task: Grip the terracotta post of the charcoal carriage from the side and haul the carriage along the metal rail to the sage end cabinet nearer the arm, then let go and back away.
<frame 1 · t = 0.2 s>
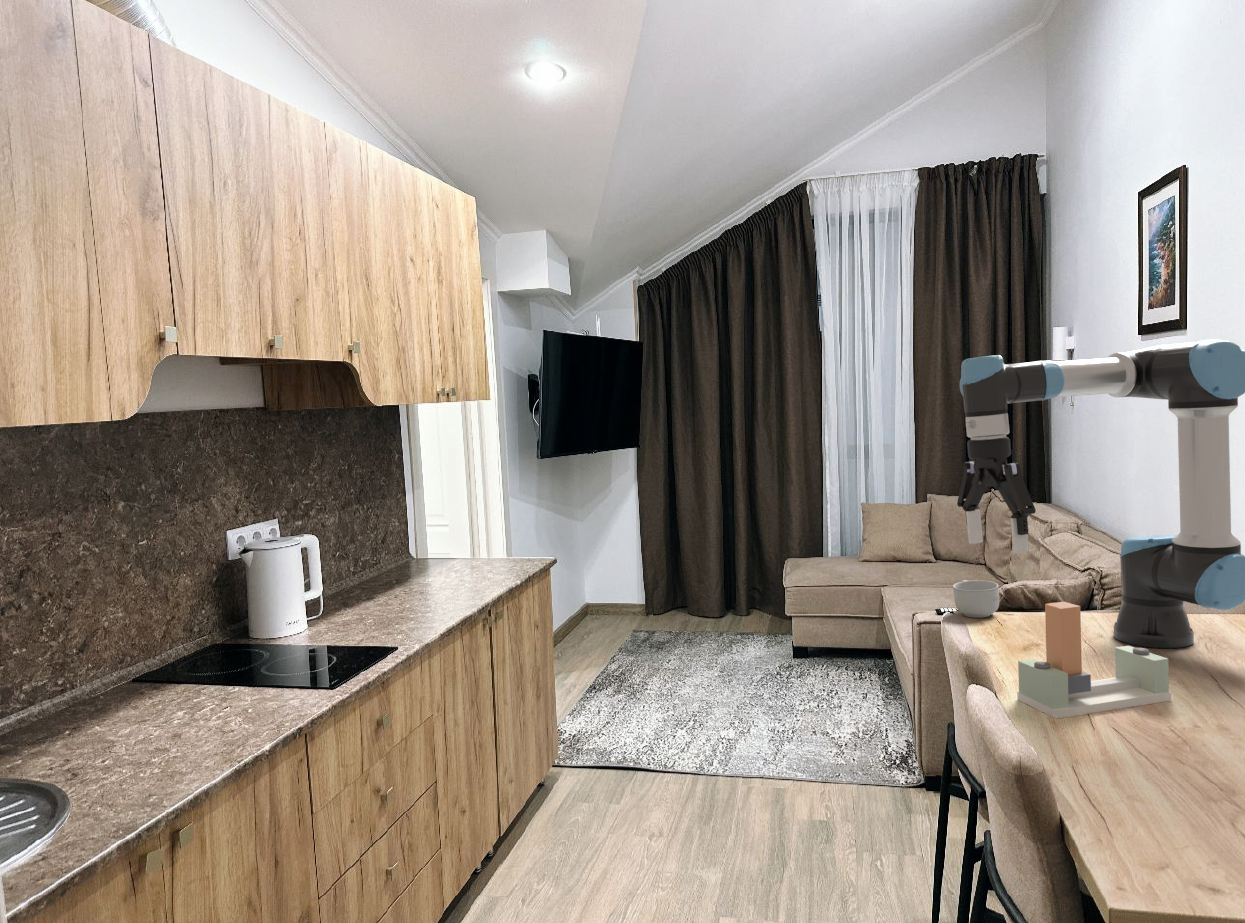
hand: (997, 547, 163), 27 cm above the table, tool pointing down, fingers open, 13 cm apart
teacup: (975, 614, 219), on the table
end cabinets: (1092, 674, 155), point 5 cm above the table
carriage: (1063, 646, 153), point 11 cm above the table, slide at 6.0 cm
rail bed: (1093, 700, 155), on the table
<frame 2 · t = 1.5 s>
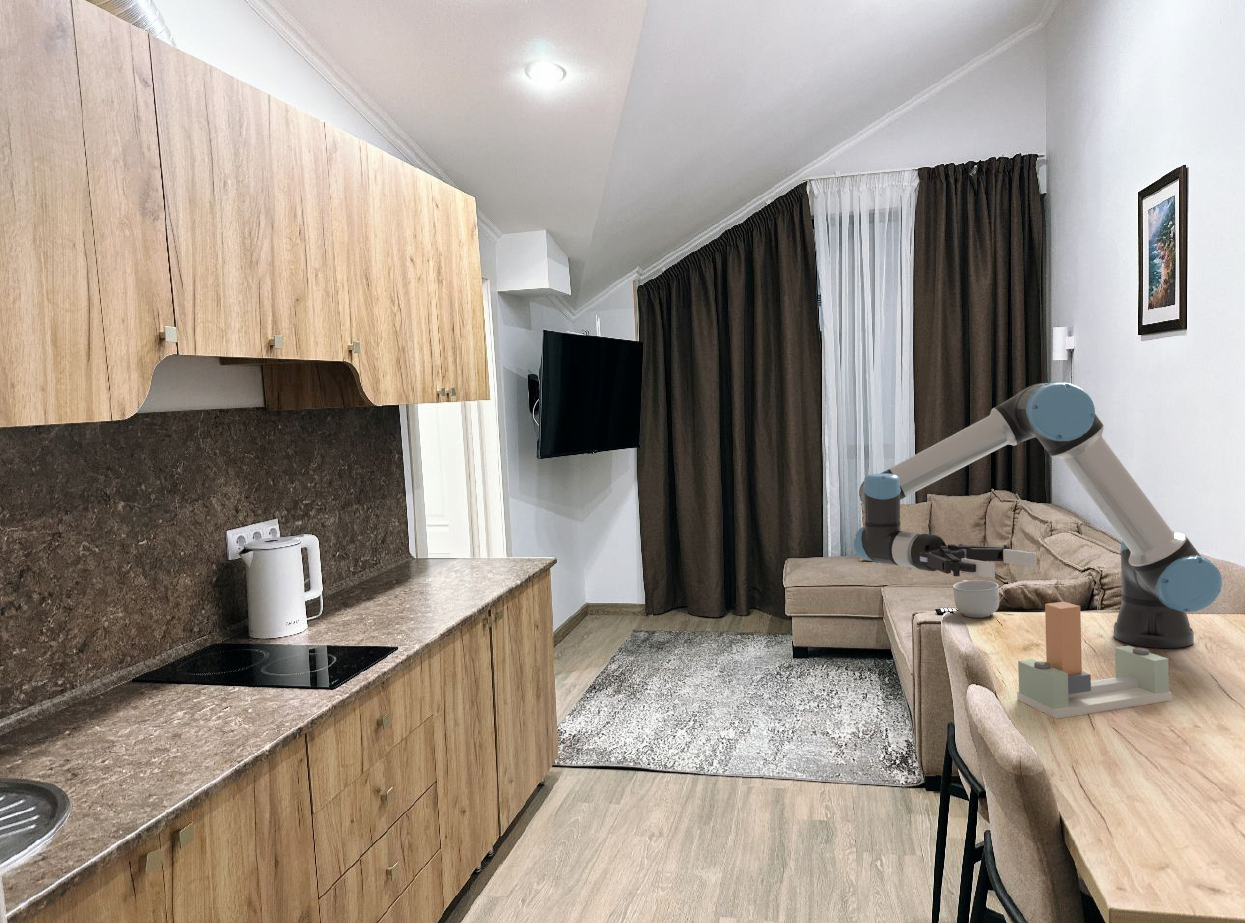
hand: (1015, 565, 160), 24 cm above the table, tool horizontal, fingers open, 13 cm apart
nothing on the table moved.
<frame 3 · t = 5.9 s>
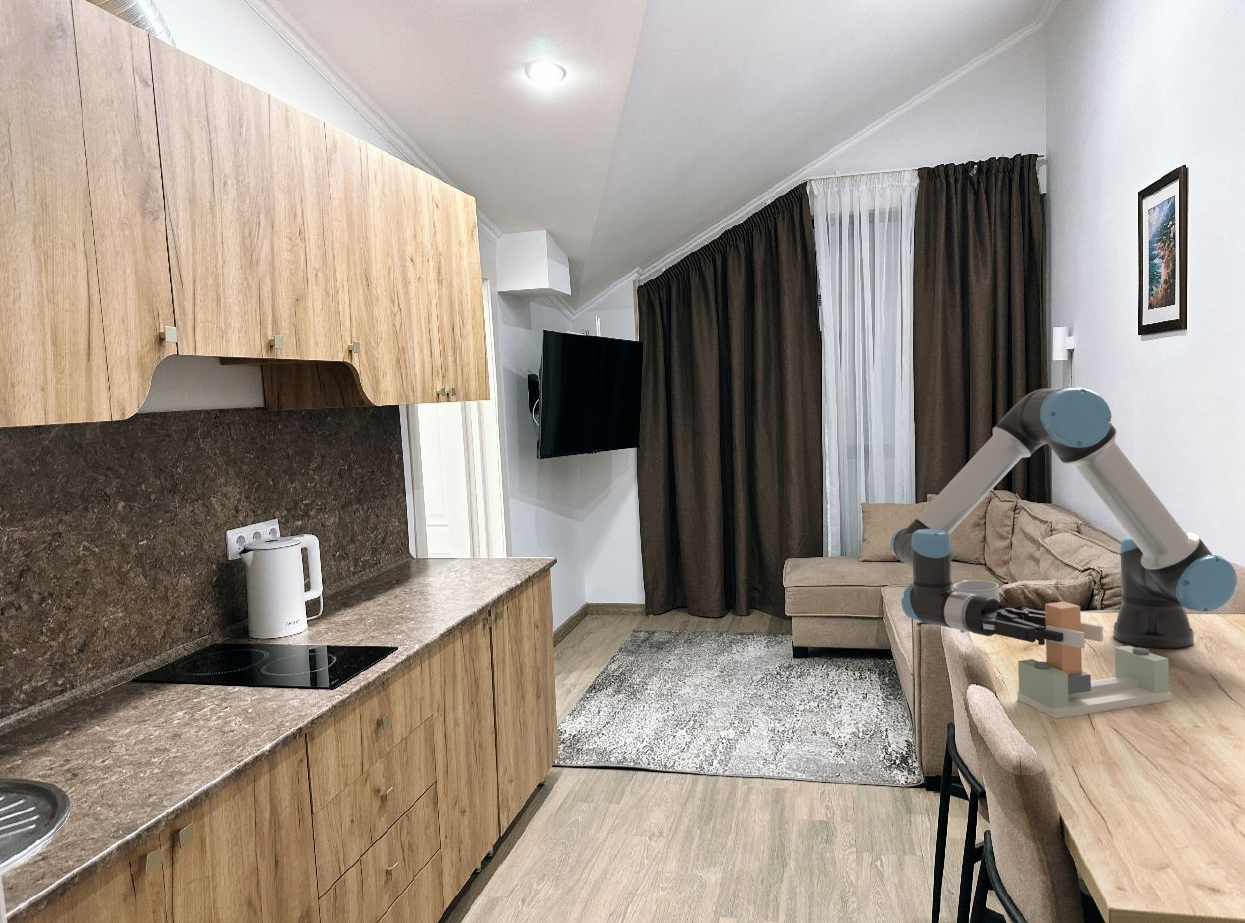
hand: (1092, 637, 149), 13 cm above the table, tool horizontal, fingers closed on carriage, 5 cm apart
carriage: (1063, 646, 153), point 11 cm above the table, slide at 6.0 cm, touching gripper
everything else where it was.
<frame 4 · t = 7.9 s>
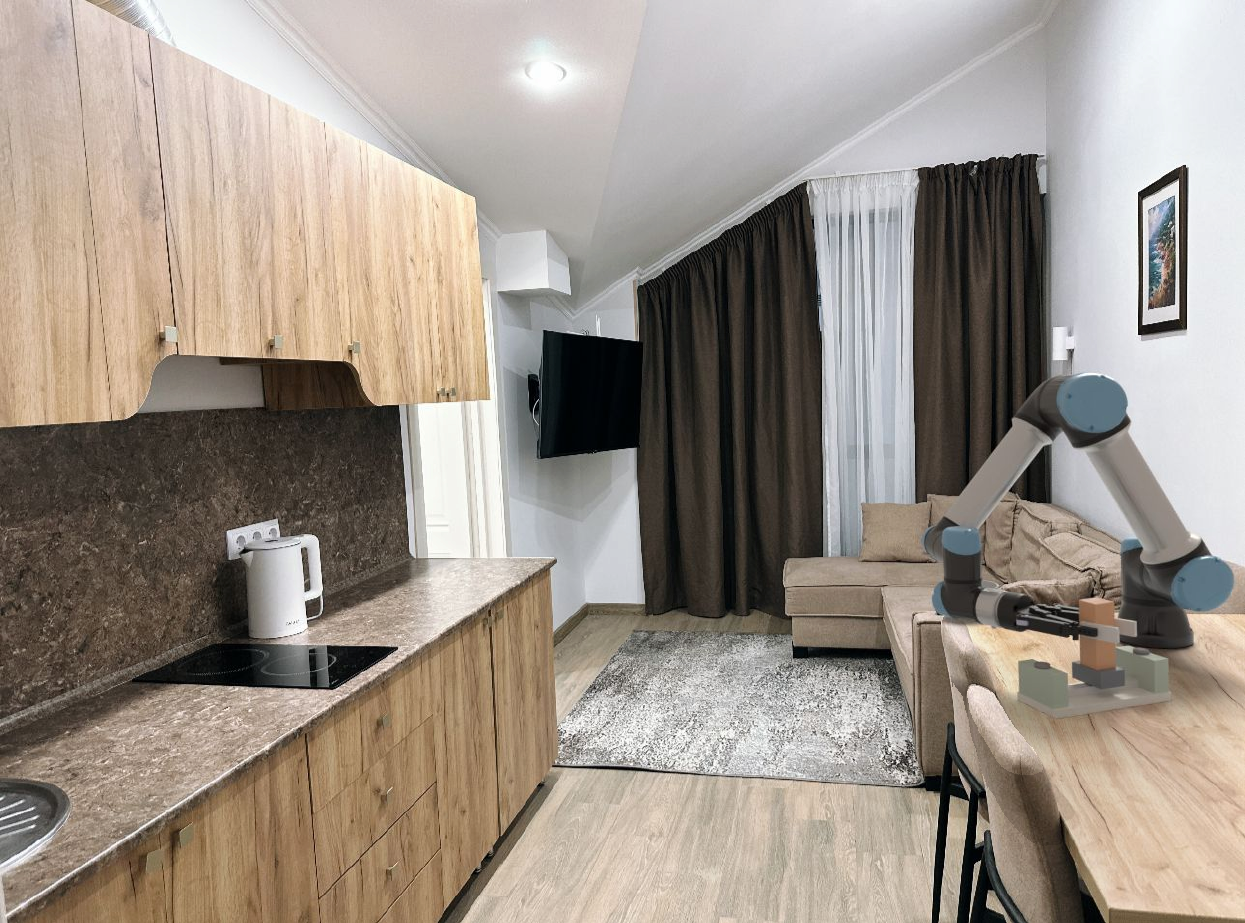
hand: (1126, 632, 150), 14 cm above the table, tool horizontal, fingers closed on carriage, 5 cm apart
carriage: (1097, 641, 155), point 11 cm above the table, slide at -1.1 cm, touching gripper
everything else where it was.
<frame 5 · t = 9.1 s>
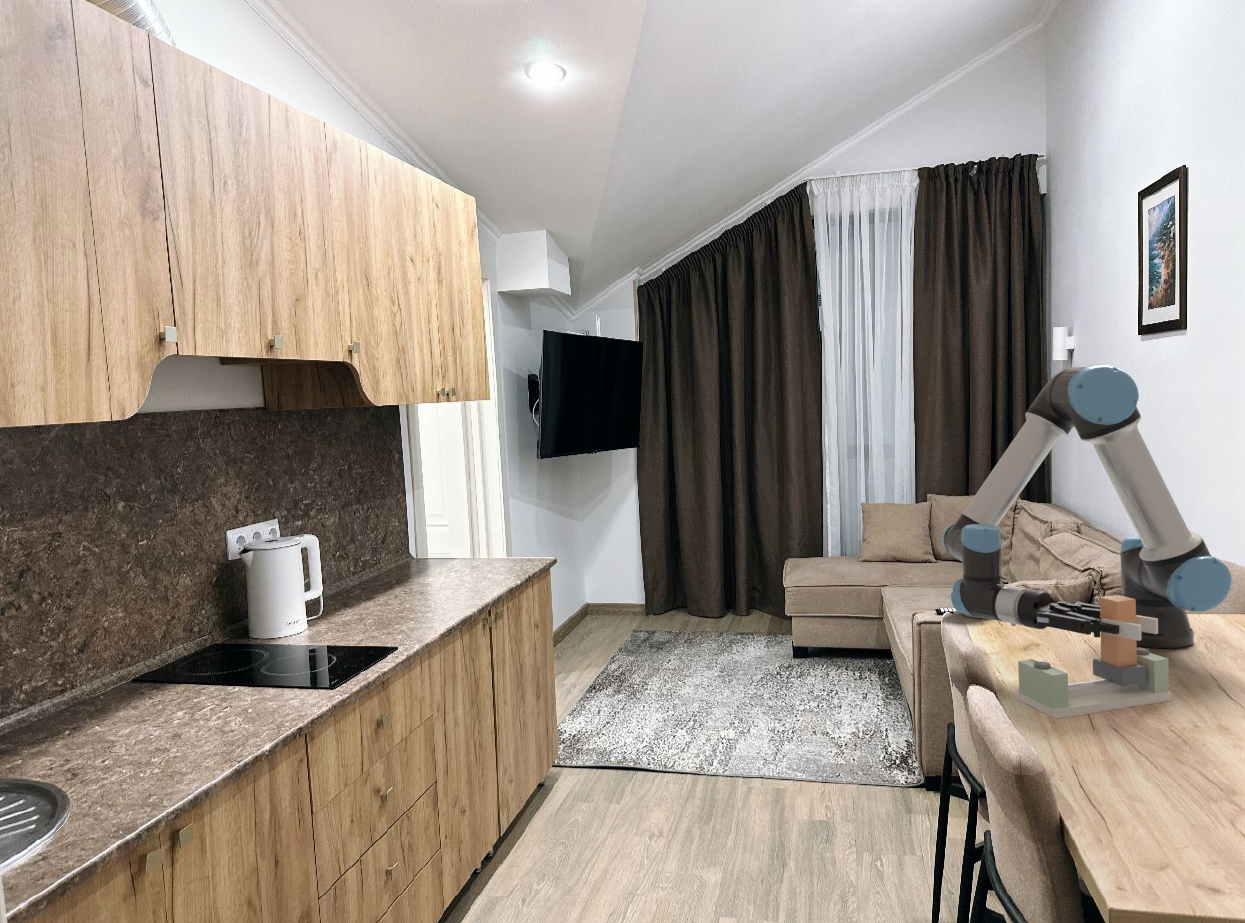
hand: (1148, 629, 151), 13 cm above the table, tool horizontal, fingers closed on carriage, 5 cm apart
carriage: (1118, 638, 156), point 11 cm above the table, slide at -5.6 cm, touching gripper
everything else where it was.
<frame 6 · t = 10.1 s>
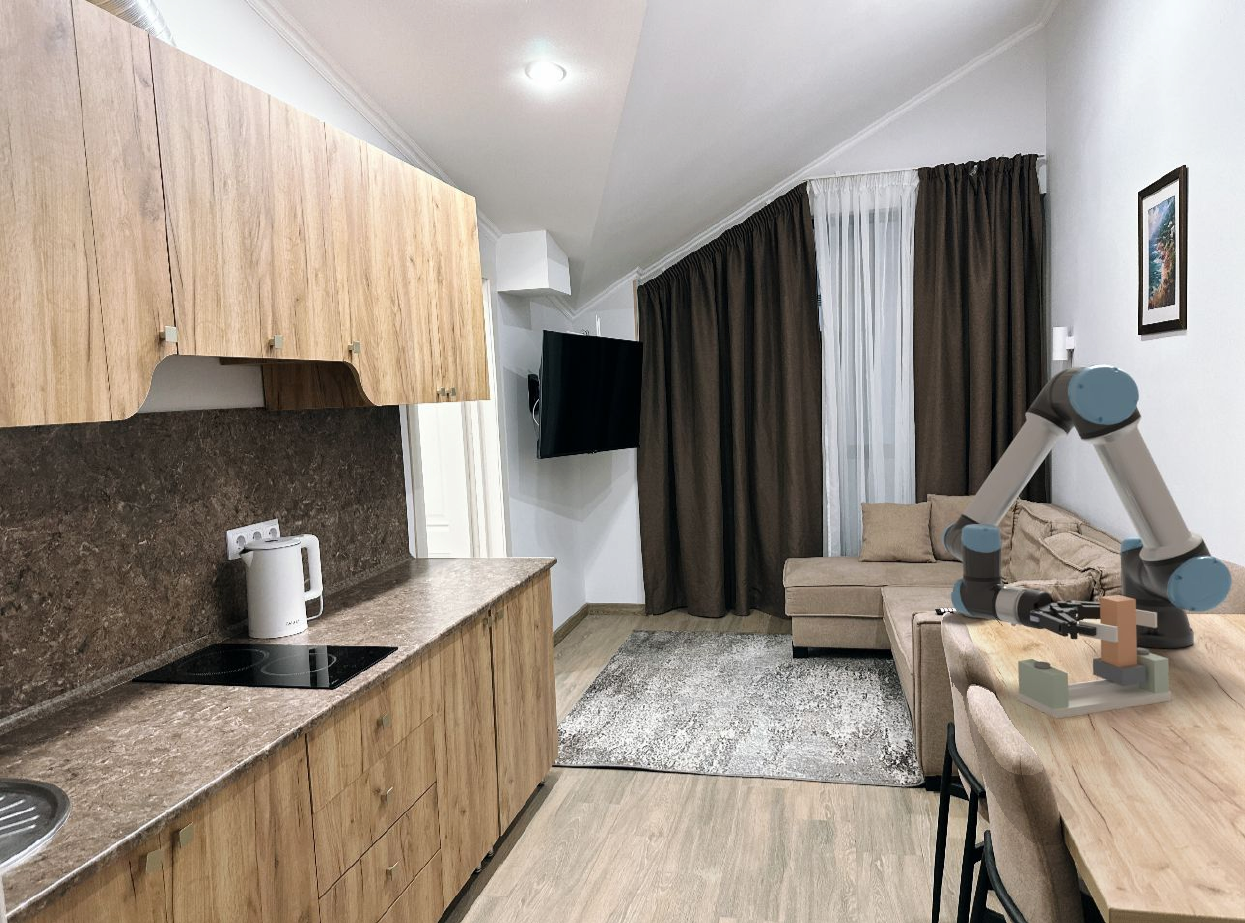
hand: (1137, 627, 153), 13 cm above the table, tool horizontal, fingers open, 13 cm apart
carriage: (1118, 638, 156), point 11 cm above the table, slide at -5.7 cm
everything else where it was.
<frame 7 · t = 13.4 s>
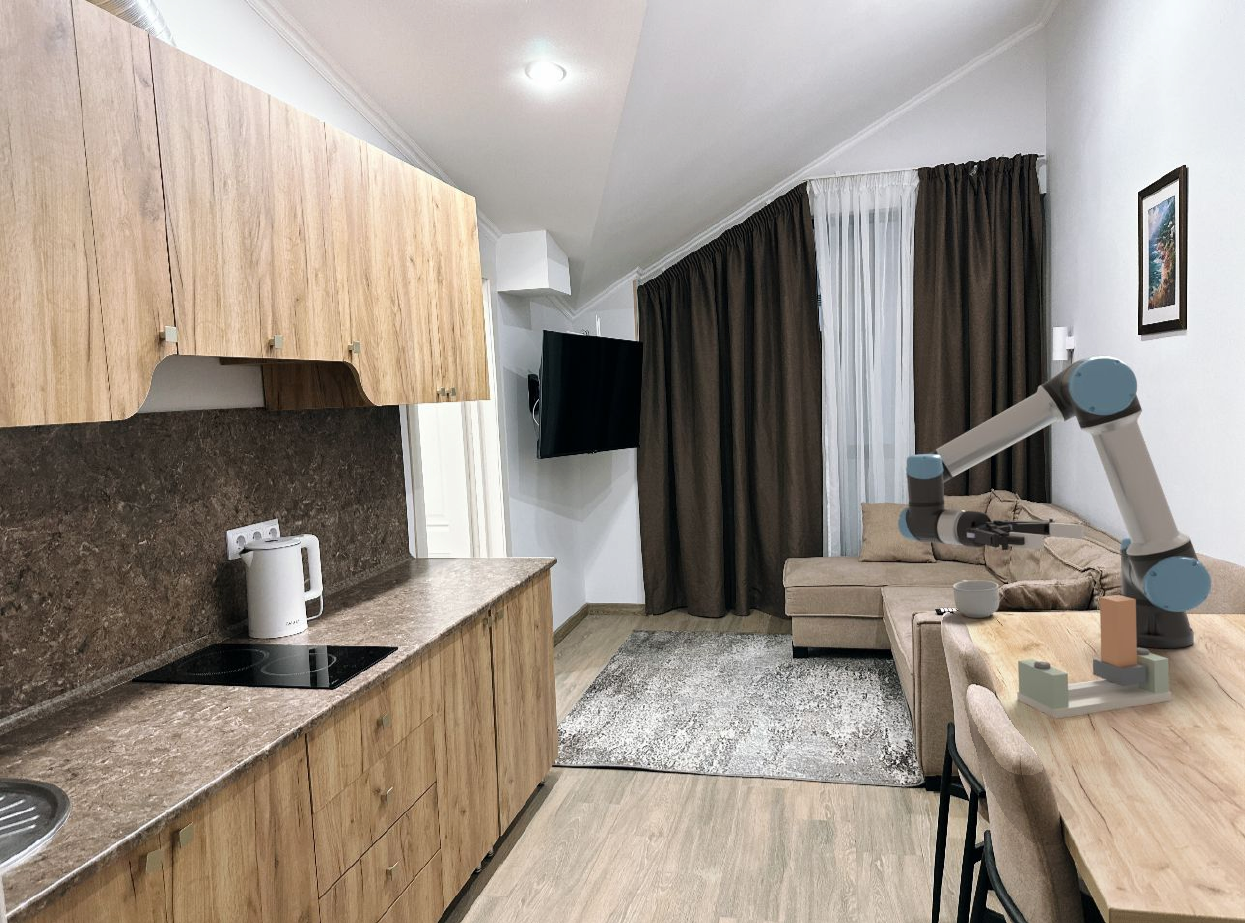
hand: (1063, 537, 163), 29 cm above the table, tool horizontal, fingers open, 13 cm apart
nothing on the table moved.
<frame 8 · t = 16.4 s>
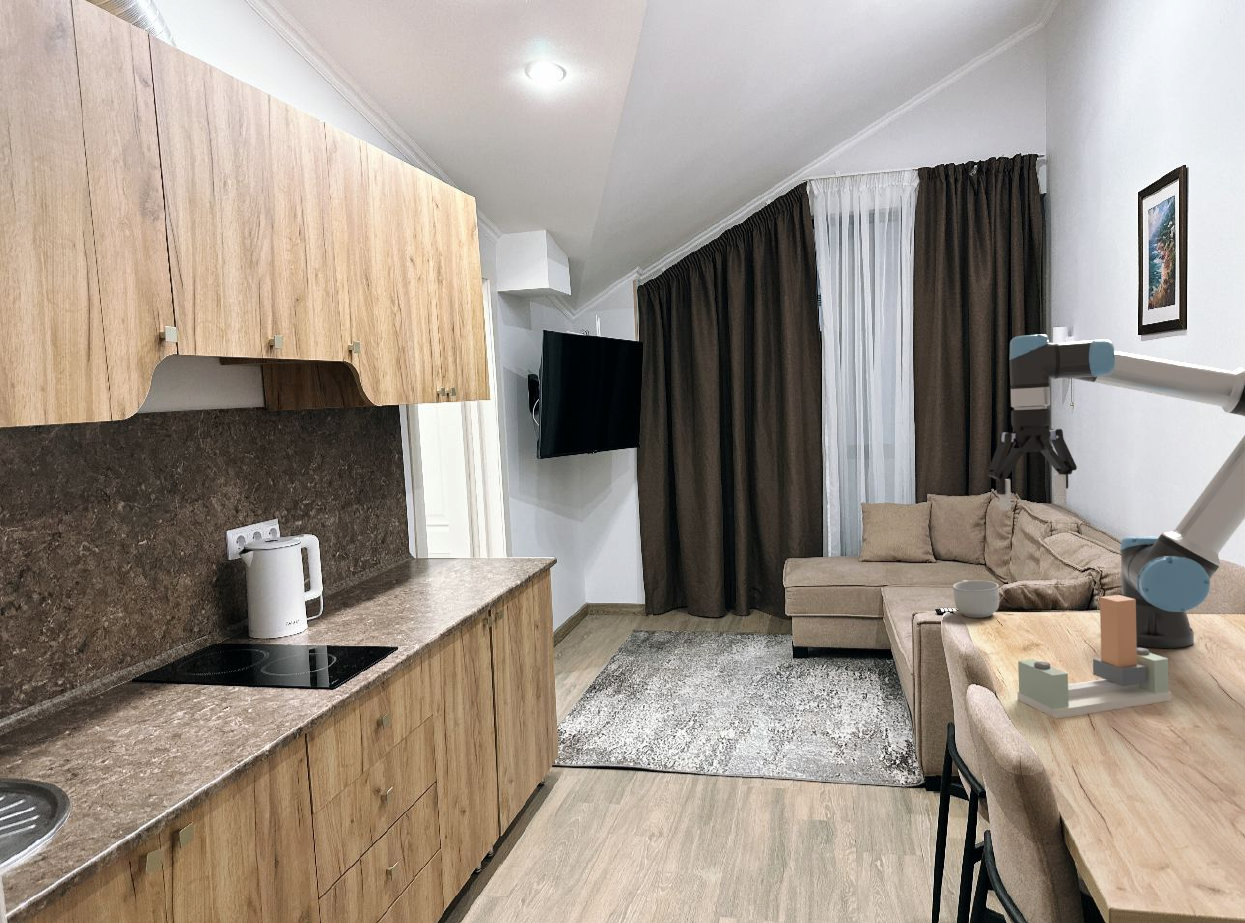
hand: (1033, 507, 183), 32 cm above the table, tool pointing down, fingers open, 13 cm apart
nothing on the table moved.
at the end: carriage slide at -5.7 cm; the gripper is holding nothing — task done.
